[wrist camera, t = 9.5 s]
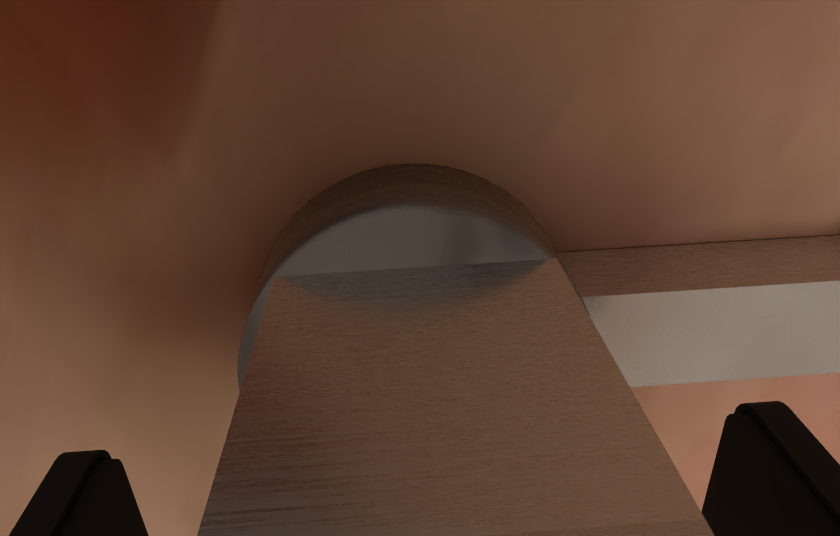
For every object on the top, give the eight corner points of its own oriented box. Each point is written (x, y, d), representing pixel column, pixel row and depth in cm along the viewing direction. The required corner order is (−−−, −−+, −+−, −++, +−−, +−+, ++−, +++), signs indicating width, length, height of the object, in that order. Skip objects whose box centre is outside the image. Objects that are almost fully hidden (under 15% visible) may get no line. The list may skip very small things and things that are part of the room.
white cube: (274, 276, 11) (163, 646, 5) (556, 258, 11) (747, 594, 5) (309, 481, 13) (260, 887, 8) (541, 463, 13) (662, 846, 8)
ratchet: (237, 173, 13) (113, 380, 7) (1239, 118, 14) (1917, 258, 8) (284, 429, 16) (229, 720, 10) (1088, 371, 17) (1480, 608, 11)
